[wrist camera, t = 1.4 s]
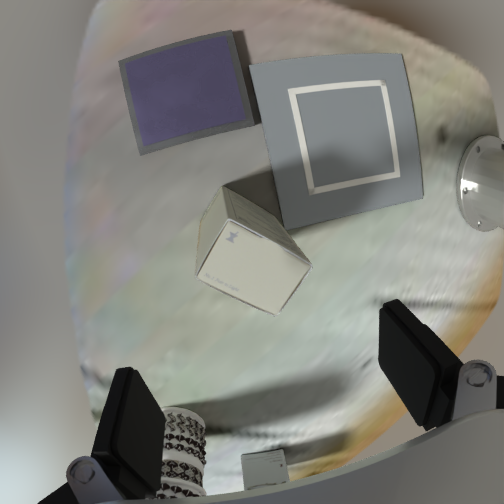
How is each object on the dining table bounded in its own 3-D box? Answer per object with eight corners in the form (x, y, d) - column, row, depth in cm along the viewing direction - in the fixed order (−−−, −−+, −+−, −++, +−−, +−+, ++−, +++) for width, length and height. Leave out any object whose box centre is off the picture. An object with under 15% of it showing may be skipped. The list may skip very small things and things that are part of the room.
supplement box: (283, 447, 44) (297, 510, 32) (285, 466, 47) (298, 522, 35) (239, 454, 44) (246, 517, 32) (245, 472, 47) (252, 529, 35)
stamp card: (398, 54, 25) (401, 53, 24) (420, 197, 31) (423, 198, 30) (248, 66, 25) (249, 64, 24) (284, 228, 31) (285, 230, 30)
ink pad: (231, 33, 23) (231, 27, 22) (253, 125, 27) (255, 125, 25) (122, 63, 23) (116, 59, 21) (143, 154, 27) (138, 156, 25)
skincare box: (198, 222, 30) (187, 278, 18) (222, 182, 28) (225, 214, 17) (254, 253, 31) (275, 321, 20) (279, 215, 30) (315, 266, 19)
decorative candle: (209, 442, 42) (216, 586, 19) (150, 438, 41) (137, 579, 17) (207, 406, 39) (214, 579, 15) (141, 402, 37) (116, 569, 14)
